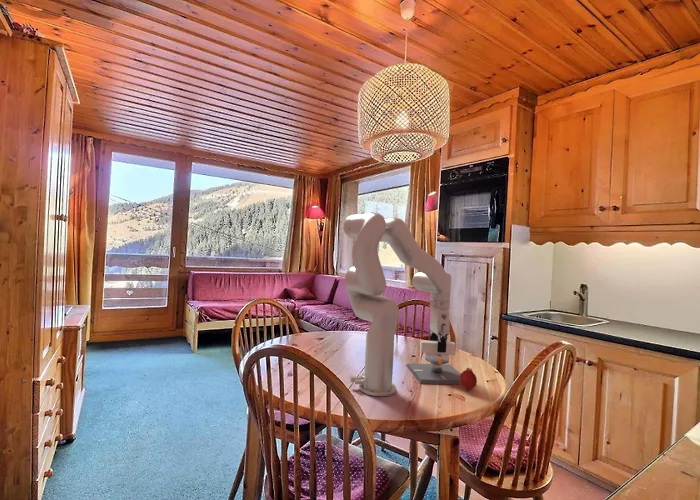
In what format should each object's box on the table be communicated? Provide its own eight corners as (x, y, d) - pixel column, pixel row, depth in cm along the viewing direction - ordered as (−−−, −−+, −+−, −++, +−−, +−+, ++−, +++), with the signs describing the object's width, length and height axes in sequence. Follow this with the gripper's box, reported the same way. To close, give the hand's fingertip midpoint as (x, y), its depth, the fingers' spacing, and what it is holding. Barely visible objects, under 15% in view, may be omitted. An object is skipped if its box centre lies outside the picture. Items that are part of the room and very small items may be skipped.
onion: (462, 386, 129) (463, 363, 129) (478, 390, 125) (479, 367, 125) (456, 390, 124) (457, 367, 124) (472, 395, 121) (473, 371, 121)
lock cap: (458, 366, 132) (459, 348, 132) (422, 364, 133) (423, 345, 133) (450, 358, 143) (451, 340, 143) (418, 355, 144) (419, 338, 144)
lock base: (420, 383, 129) (421, 368, 129) (407, 367, 147) (408, 353, 147) (468, 384, 131) (469, 369, 131) (449, 367, 149) (450, 354, 149)
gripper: (458, 308, 131) (455, 355, 131) (441, 301, 148) (439, 343, 148) (438, 307, 130) (435, 355, 130) (423, 300, 147) (421, 342, 147)
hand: (437, 348), depth 139 cm, fingers open, 8 cm apart
